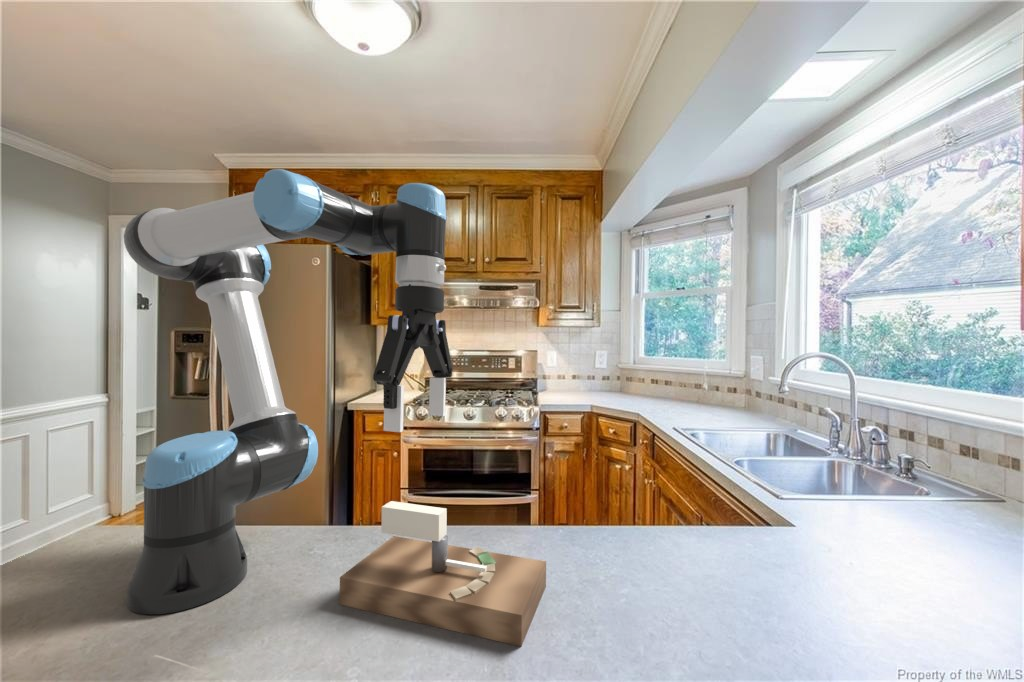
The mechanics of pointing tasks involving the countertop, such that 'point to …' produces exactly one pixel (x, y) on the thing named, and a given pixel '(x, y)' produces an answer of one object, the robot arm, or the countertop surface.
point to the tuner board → (448, 589)
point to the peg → (423, 530)
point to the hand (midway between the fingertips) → (417, 422)
